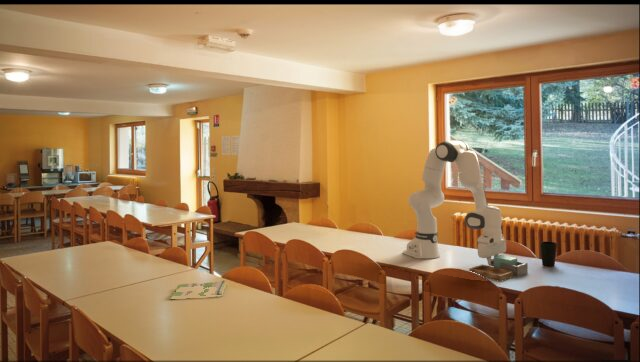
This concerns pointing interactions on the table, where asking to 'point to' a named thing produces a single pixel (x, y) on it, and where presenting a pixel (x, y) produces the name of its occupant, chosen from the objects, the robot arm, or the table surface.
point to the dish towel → (213, 284)
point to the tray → (492, 272)
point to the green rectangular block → (503, 261)
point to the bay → (516, 268)
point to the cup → (548, 253)
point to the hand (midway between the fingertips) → (492, 263)
